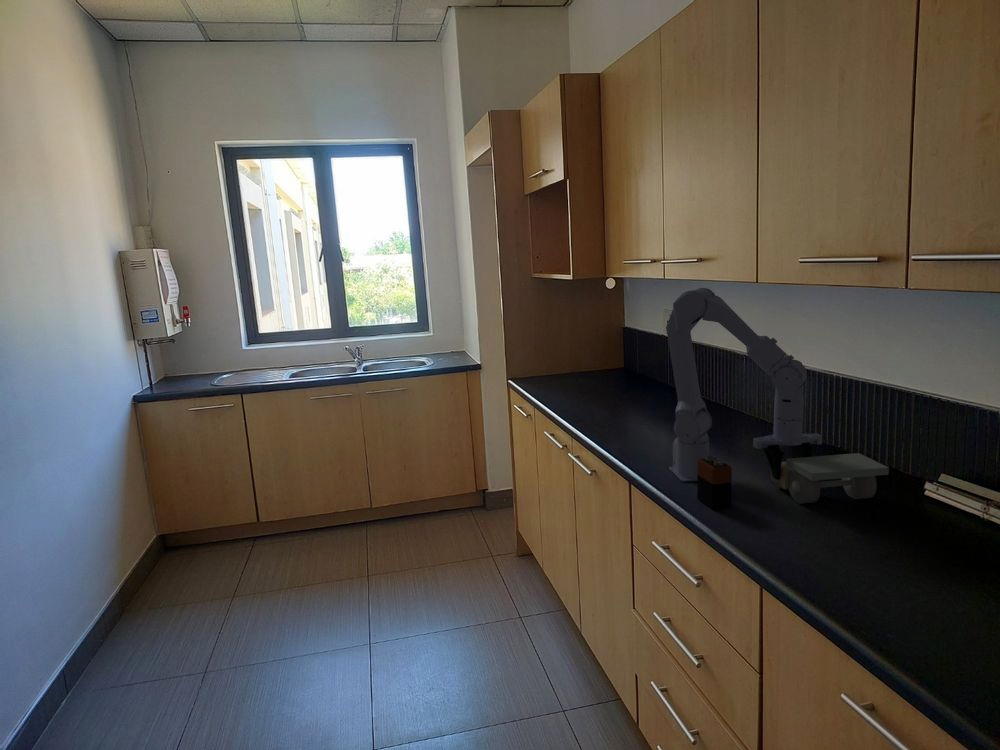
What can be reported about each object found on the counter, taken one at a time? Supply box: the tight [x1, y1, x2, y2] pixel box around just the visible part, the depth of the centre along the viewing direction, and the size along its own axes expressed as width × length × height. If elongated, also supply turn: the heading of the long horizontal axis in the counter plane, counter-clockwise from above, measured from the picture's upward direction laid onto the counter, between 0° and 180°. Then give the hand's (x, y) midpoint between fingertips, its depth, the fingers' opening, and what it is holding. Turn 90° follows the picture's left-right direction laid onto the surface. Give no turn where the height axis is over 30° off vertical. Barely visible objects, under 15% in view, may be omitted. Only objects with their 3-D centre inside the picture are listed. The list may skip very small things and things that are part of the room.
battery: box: [696, 454, 733, 510], centre depth 135 cm, size 4×7×10 cm, turn 12°
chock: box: [770, 461, 793, 490], centre depth 140 cm, size 6×4×4 cm, turn 5°
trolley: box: [786, 452, 890, 505], centre depth 132 cm, size 10×16×8 cm, turn 95°
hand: (786, 477), depth 140 cm, fingers closed on chock, 4 cm apart
